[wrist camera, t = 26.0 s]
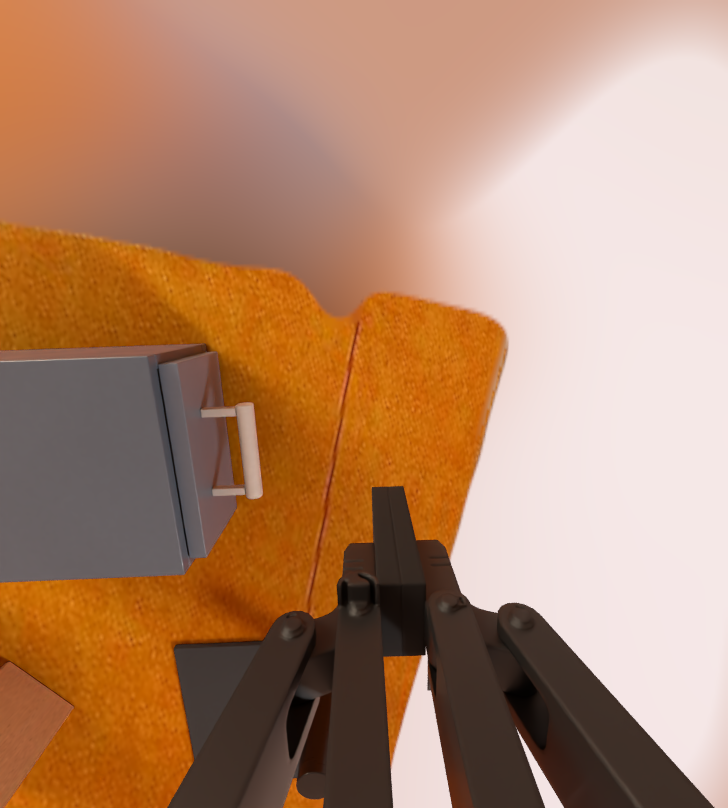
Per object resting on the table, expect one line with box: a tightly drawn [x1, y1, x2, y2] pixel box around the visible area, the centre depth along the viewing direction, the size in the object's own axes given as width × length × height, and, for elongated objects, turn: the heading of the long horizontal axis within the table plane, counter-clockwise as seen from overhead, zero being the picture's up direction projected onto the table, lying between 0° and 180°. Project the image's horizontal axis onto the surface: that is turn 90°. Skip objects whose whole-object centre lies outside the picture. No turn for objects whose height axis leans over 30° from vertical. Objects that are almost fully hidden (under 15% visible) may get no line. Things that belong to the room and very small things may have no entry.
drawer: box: [157, 352, 263, 558], centre depth 28 cm, size 22×14×7 cm, turn 92°
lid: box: [296, 692, 332, 799], centre depth 33 cm, size 7×7×10 cm
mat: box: [174, 641, 300, 778], centre depth 39 cm, size 18×18×1 cm
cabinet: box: [0, 344, 207, 582], centre depth 28 cm, size 20×15×9 cm
